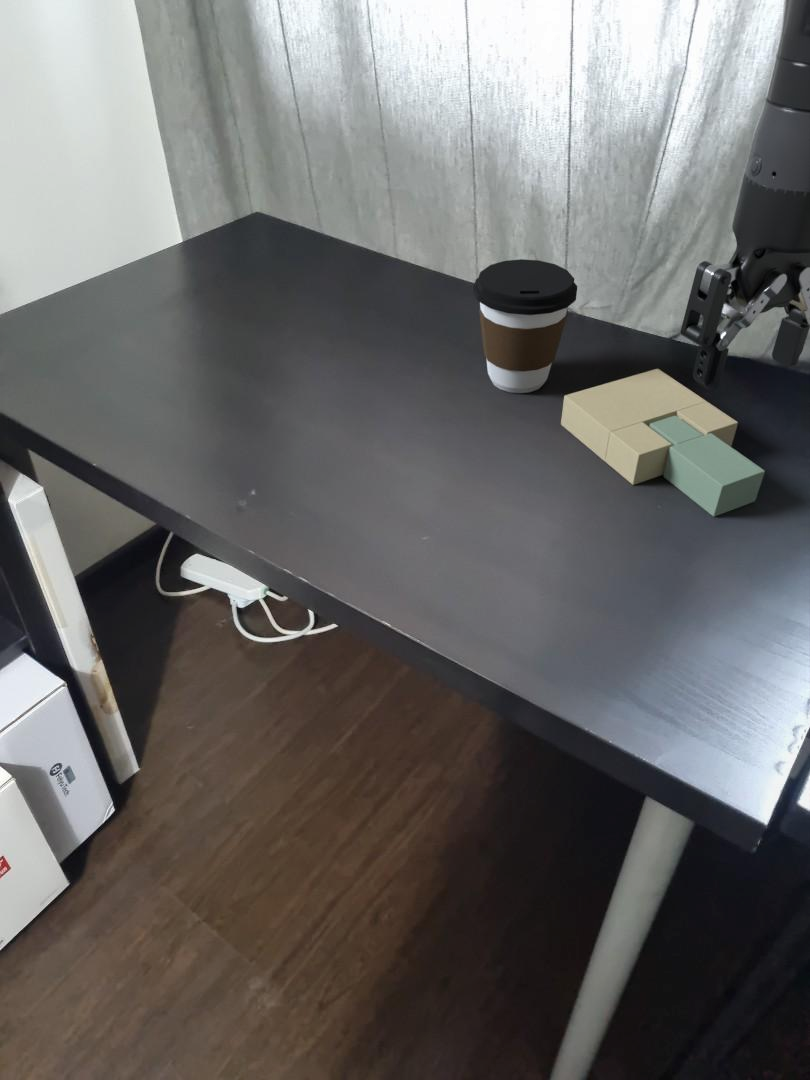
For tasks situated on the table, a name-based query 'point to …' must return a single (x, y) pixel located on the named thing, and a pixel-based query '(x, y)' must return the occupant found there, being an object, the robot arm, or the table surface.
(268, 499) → the table surface
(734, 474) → the pad
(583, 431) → the notch pad
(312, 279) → the table surface
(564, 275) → the coffee cup
